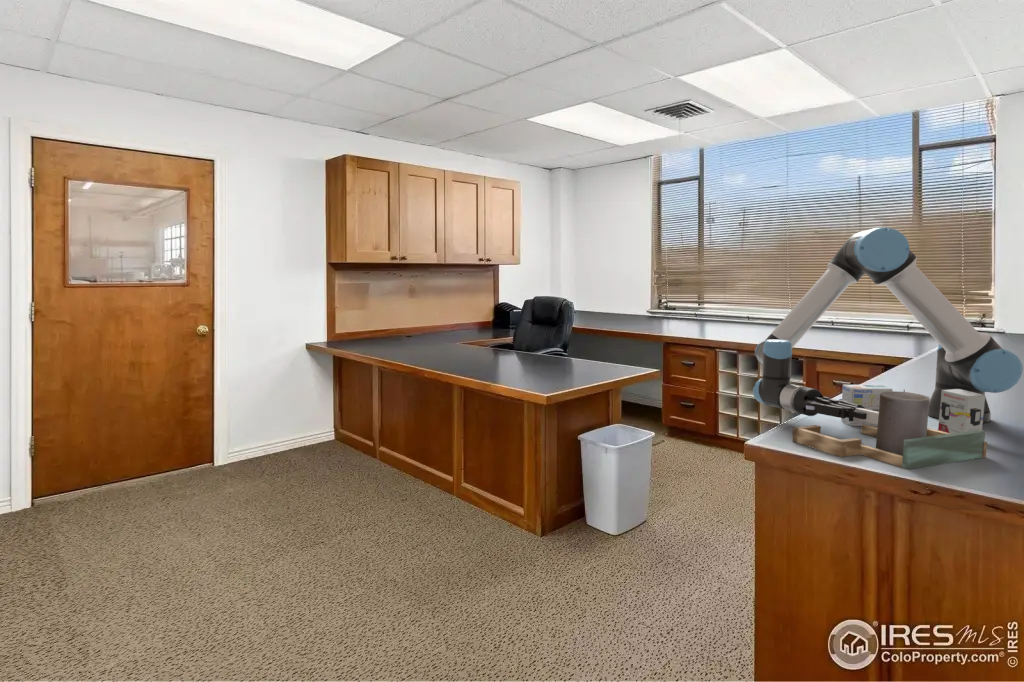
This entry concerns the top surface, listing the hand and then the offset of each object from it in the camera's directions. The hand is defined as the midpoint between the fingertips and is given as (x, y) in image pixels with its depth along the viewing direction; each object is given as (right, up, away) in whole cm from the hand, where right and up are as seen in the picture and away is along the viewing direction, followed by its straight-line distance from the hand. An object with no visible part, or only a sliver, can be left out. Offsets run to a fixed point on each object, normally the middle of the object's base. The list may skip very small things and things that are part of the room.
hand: (881, 419), depth 142 cm
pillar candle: (+2, -8, -4) cm, 9 cm away
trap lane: (0, -7, 0) cm, 7 cm away
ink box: (+26, -6, +10) cm, 29 cm away
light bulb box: (+10, -5, +24) cm, 27 cm away
